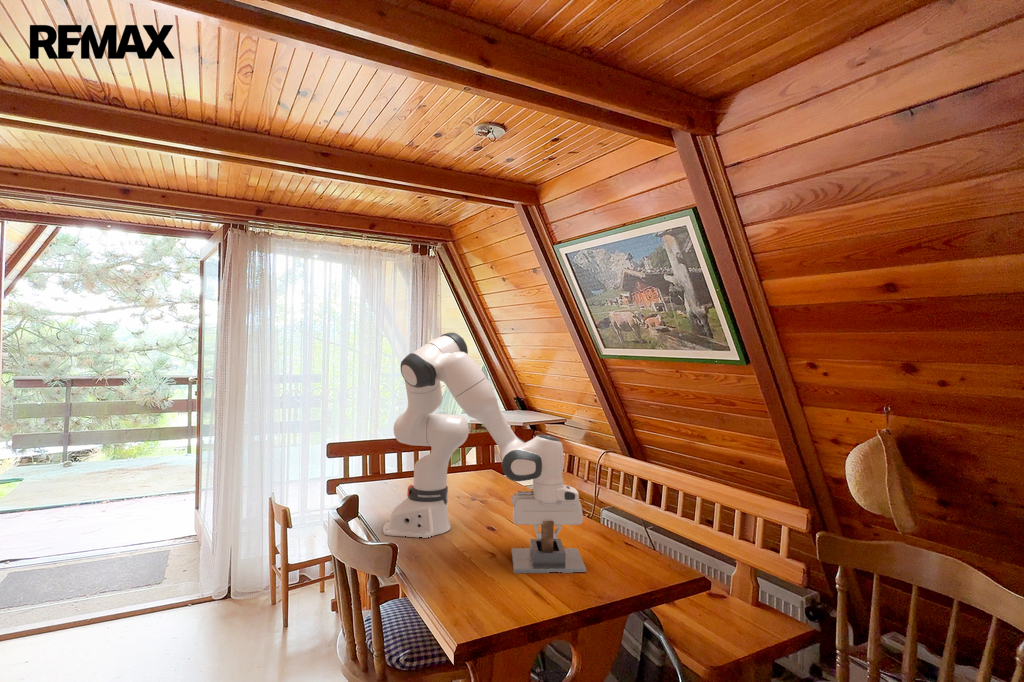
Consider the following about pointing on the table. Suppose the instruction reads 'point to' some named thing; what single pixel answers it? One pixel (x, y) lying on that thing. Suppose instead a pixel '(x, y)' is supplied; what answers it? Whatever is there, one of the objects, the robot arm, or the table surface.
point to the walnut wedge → (547, 535)
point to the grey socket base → (547, 559)
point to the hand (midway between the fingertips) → (547, 539)
